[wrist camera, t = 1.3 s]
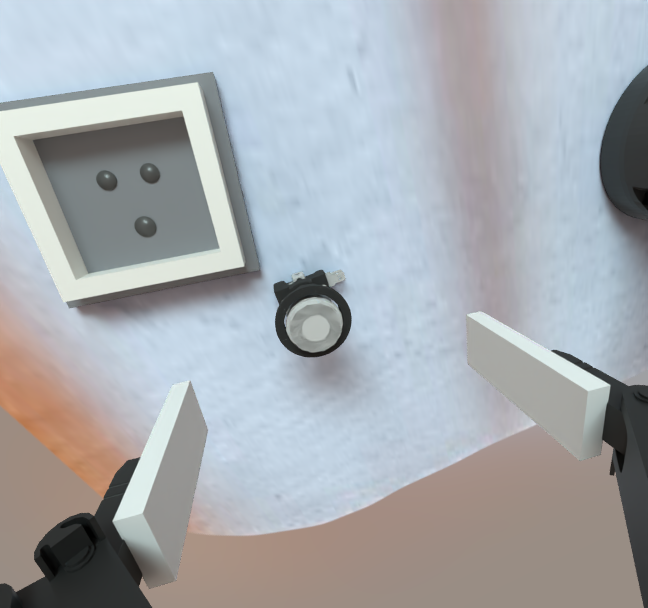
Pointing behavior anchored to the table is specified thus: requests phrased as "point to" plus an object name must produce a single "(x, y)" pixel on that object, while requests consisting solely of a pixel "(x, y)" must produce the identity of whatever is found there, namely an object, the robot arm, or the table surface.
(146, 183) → the socket plate
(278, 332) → the push button
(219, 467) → the table surface
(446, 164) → the table surface
